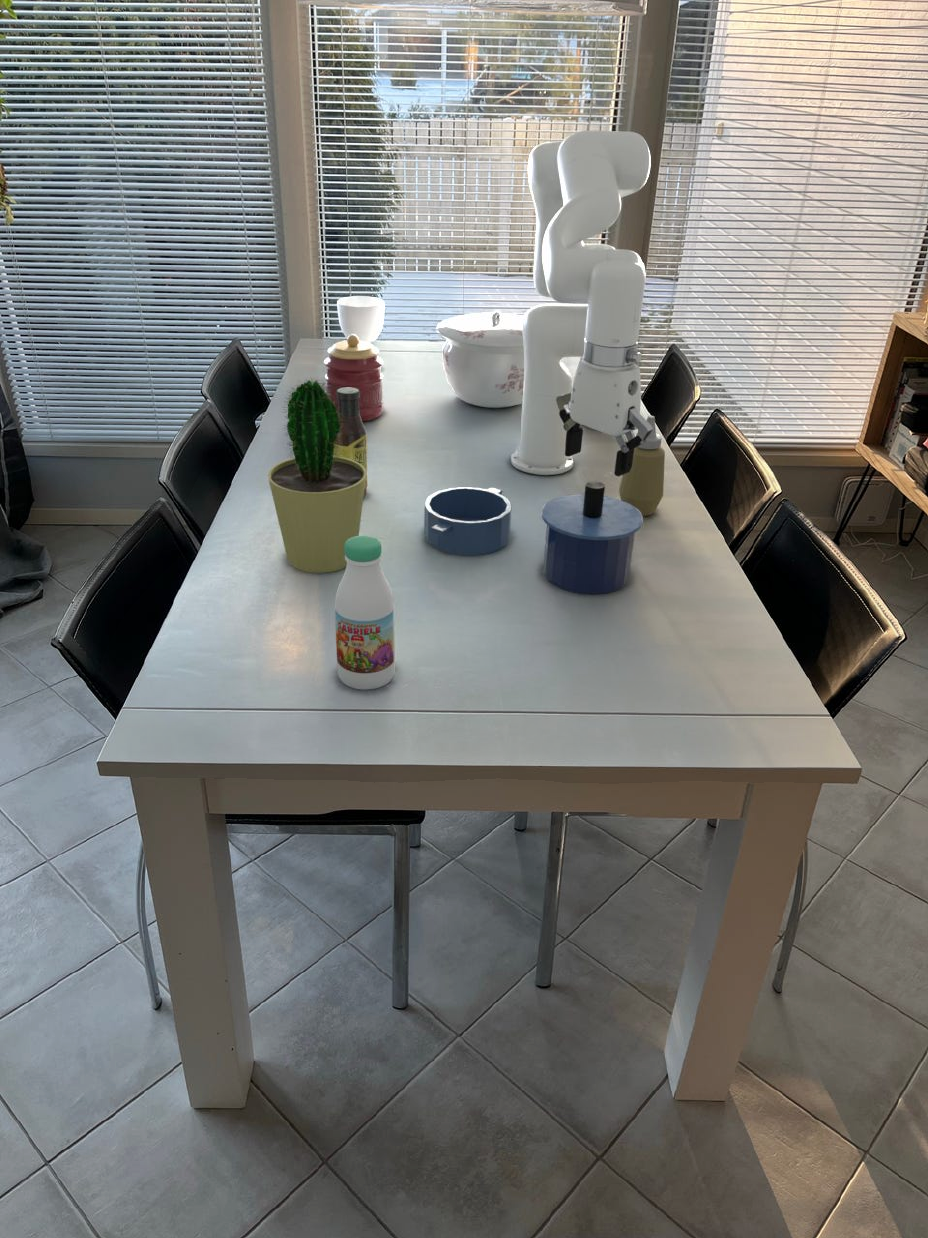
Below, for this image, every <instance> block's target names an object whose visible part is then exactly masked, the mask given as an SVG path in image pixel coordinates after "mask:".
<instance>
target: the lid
mask: <svg viewBox="0 0 928 1238" xmlns="http://www.w3.org/2000/svg"><path fill="white" fill-rule="evenodd" d="M605 490H606V484H605V483H603V482H602V481H598V480H597V481H596V480H590V481H587V482H586V483H585V485H584V493H574V494H573V493H572V494H567V495H562V496H558V497H554V498H552V499H550V500H549V501H547V502H546V503H545V504H544V505H543V506H542V509H541V518H542V521H543V522H544V524H546V526H547V525H548V526H549V527H550V528H552V529H554V530H555V531H558V532H560V533H562V534H565V535H568V536H571V537H576V538H581V539H588V540H613V539H619V538H624V537H627V536H630V535H632V534H634V533H635V534H637V532H639V530H640V529H641V528H642V526H643V521H644V516H642V514H641V513H640V511H639V510H638V509H637V508H635V507H634V506H632V505H631V504H629V503H627V502H624V501H622V500H621V499H619V498H615V497H612V496H608V495H605Z"/></svg>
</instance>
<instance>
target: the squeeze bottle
mask: <svg viewBox="0 0 928 1238" xmlns="http://www.w3.org/2000/svg"><path fill="white" fill-rule="evenodd" d="M645 420H646V421H647V422H648V423H649V424H650V425H651V426H652V428H653V430H652V432H651V433H650V434H649V436H648V437H647V438H646V441H645V442H644V443H642V444H641V445H639V446H638V447H637V448H635V449H634V455H633V462H632V468H631V470H630V472H628V473H626V474H624V475H621V480H620V483H619V487H618V488H619V489H618V493H619V497H620V500H622V501H624V502H627V503H629V504H631V505H632V506H634V507H635V508H637V509H638V510H639V511H640V513H641V514H642V517H646V516H647V517H648V516H651V515H653V514H654V513H655V512H656V510H657V508H658V506H659V504H660V502H661V500H662V498H663V497H664V484H665V483H664V482H665V460H666V459H665V457H666V455H665V454H666V451H665V449H664V448H663V447H662V436H661V435H660V434H658V433H657V432H656V431H657V429H656V418H655V416H654V415H652V414H651V415H648V416H647V417H646V419H645ZM634 435H635V437H636V435H637V433H636V434H634Z"/></svg>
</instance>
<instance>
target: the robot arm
mask: <svg viewBox="0 0 928 1238" xmlns="http://www.w3.org/2000/svg"><path fill="white" fill-rule="evenodd" d="M650 171H651V152H650V149H649V145H648V143H647V141H646V139H645V138H644V137H643V136H642V135H641V134H639V133H637V132H635V131H625V130H624V131H620V130H619V131H617V130H581V131H576V132H573V133H571V134H570V135H568V136H567V137H566V138H564V140H563V141H547V142H543V143H539V144H537V145H535V146H534V148H533V149H532V150H531V152H530V154H529V157H528V164H527V175H528V177H527V178H528V184H529V189H530V193H531V196H532V200H533V204H534V208H535V214H536V227H535V228H536V229H535V241H534V243H535V244H534V257H533V258H534V261H533V284H534V288H535V291H536V293H538V294H539V295H540V296H542V297H546V298H551V299H552V300H554V301H555V302H557V303H545V304H544V303H543V304H539V305H536V306H533V307H531V308H530V309H528V310H527V311H526V312H525V313H524V315H523V316H524V318H523V324H522V334H523V345H524V385H523V401H522V403H521V420H520V435H519V449H518V450H516V451H515V452H513V453H512V454H511V458H510V462H511V465H512V466H513V467H514V468H516V469H517V470H519V471H521V472H524V473H527V474H530V475H531V474H533V475H537V476H538V475H539V476H553V475H560V474H564V473H566V472H569V471H570V470H571V469H572V468H573V467H574V459H573V456H574V455H577V454H579V453H581V452H582V446H583V445H582V444H583V435H584V428H583V427H581V426H584V427H585V428H588V429H592V430H595V431H597V432H600V433H603V434H606V435H609V436H612V437H615V440H616V442H617V444H618V446H619V448H620V449H619V450H617V452H616V457H615V465H614V476H615V477H622V475H624V474H626V473H628V472H630V470H631V468H632V462H633V455H634V449H635V448H637V447H638V446H639V445H641V444H642V443H644V442H645V441H646V438H647V437H648V436H649V434H650V433H651V432H652V430H653V428H652V426H651V425H650V424H649V423H648V422H647V421H646V420H647V419H645V417H644V416H643V415H642V414H641V404H642V403H641V402H642V401H641V400H642V380H641V378H642V377H641V370H640V365H639V363H641V361H642V358H643V355H642V353H641V352H638V341H639V333H640V326H641V319H642V311H643V303H644V295H645V287H646V278H647V277H646V276H647V275H646V268H645V263H644V262H643V261H642V259H641V257H640V255H639V254H638V253H637V252H635V251H634V250H631V249H624V248H623V249H620V248H617V249H616V248H615V247H614V246H612V245H611V244H610V245H609V244H605V243H584V241H585V240H588V239H590V238H592V237H595V236H597V235H599V234H601V233H603V232H604V231H607V230H608V229H609V228H610V227H612V226H613V225H614V224H615V222H616V221H617V220H618V218H619V216H620V213H621V211H622V210H621V209H622V200H621V198H624V197H627V196H630V195H632V194H635V193H637V192H639V191H640V190H641V189H642V188H643V187H644V186H645V184H646V183H647V180H648V178H649V175H650ZM564 358H579V360H578V363H577V366H576V370H575V372H574V373H575V374H574V376H575V377H572V375H571V372H570V371H569V369H568V368H567V366H566V365H565V363H564V362H563V361H562V359H564ZM635 430H637V433H636V434H637V435H636V434H635V433H634V431H635ZM635 435H636V437H635Z"/></svg>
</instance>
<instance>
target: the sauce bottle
mask: <svg viewBox="0 0 928 1238" xmlns="http://www.w3.org/2000/svg"><path fill="white" fill-rule="evenodd" d="M359 398H360V394H359V390H358V389H356V388H352V387H346V388H340V389H338V390H337V399H338V414H340V413H341V414H340V416H341V417H340V416H338V418H339V423H340V424H341V425H340V427H343V426H346V427H343V428H340V430H341V433H340V432H339V433H338V434H337V436H340V437H337V438H336V439H338V438H339V439H338V440H335V441H334V447H336V446H337V445H338V446H337V447H336V448H338V449H335V448H334V451H335V452H334V455H335V454H336V455H337V456H339V457H344V458H348V459H351V460H354V461H356V462H358V463H360V464H361V465H363V466H364V467H365V468H366V471H367V472H368V445H367V444H368V443H367V441H368V440H367V439H368V438H367V431H366V428H365V426H364V423H363V422H364V421H362V420H361V417H360V414H359V413H360V411H359ZM339 410H340V411H339ZM341 419H344V420H341ZM345 420H347V421H345ZM342 423H344V425H342ZM342 432H343V433H342ZM340 434H341V435H340ZM342 442H343V443H342ZM335 444H337V445H335ZM339 445H340V446H339ZM336 450H338V451H336ZM334 455H333V456H334ZM336 455H335V456H336ZM367 487H368V475H367V476H366V480H365V489H364V497H365V496H366V495H367V489H368V488H367Z"/></svg>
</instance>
